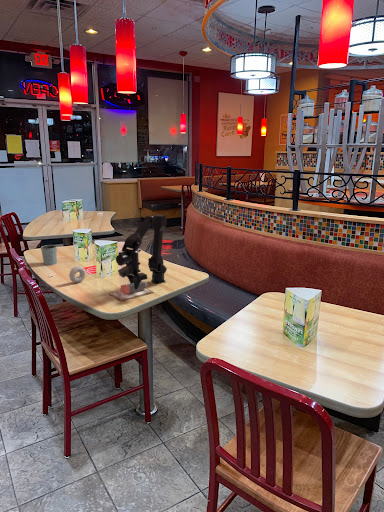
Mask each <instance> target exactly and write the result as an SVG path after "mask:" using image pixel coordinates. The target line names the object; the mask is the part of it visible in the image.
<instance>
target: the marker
mask: <svg viewBox="0 0 384 512" xmlns="http://www.w3.org/2000/svg"><path fill="white" fill-rule="evenodd" d="M146 287H148V282H146V281H144V280H141V282H140V284H139V286H138V289H135V286H134V283H131V284H130V283H127V284H121V285H120V291H121V292H122V293H123V294H127V293H131V292H135V291H138V290H142V289H145V288H146Z"/></svg>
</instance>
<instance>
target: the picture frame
mask: <svg viewBox="0 0 384 512" xmlns="http://www.w3.org/2000/svg"><path fill="white" fill-rule="evenodd" d="M154 293H155V292H154V291H152V290H150V289H148V288H147V287H145V289H142V290H138V291H135V292H131V293H127V294H123V293H122V292H121V290H119V291H114V292H110V293H109V295H110V296H112V297H114V298H115V299H116V300H117V301H119V302H124V301H129V300H132V299H135V298H139V297H144V296H146V295H151V294H154Z"/></svg>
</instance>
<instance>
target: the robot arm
mask: <svg viewBox="0 0 384 512" xmlns="http://www.w3.org/2000/svg"><path fill="white" fill-rule="evenodd" d="M167 218H168V217H166V216H165V215H161V214H154V215H145V217H144V219H143V221H142V222H141V224H140V225H139V226H138V227H137V228H136V230H135V231H134V232H133V233H131V234H130V235H129V236H128V237H126V238H125V240H124V244H123V246H122V248H121V251H120V252H118V255H116V257H115V262H116V264H117V265H118V266H121V268H119V269H118V270H117V272H118V275H119V276H120V277H121V278H127V279H128V281H129V284H131V283H134V286H135V289H138V286H139V284H140V282H141V281H146V280H148V275H147V274H146V273H144V272H142V271H141V270H142V269H140V266H141V262H140V259H139V253H140V252H141V251H142V250H141V249H140V247H141V245H142V242H143V238H144V237H145V235H147V233H148V231H149V229H150V228H151V226H152V229H153V242H152V255H151V257H148V262H147V266H148V268H149V272H151V273H152V274H151V280H150V281H151V282H152V283H154V284H156V285H158V284H163V283H165V282H167V281H166V280H165V273H167V267H166V265H165V264H164V259H163V257H162V246H163V235H164V233H163V232H164V230H165V229H166V228H167V223H168V219H167ZM122 266H123V267H122Z"/></svg>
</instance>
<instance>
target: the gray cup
mask: <svg viewBox="0 0 384 512" xmlns="http://www.w3.org/2000/svg"><path fill="white" fill-rule="evenodd" d="M57 248H58V247H57V245H55V244H46V245H41V247H40V250H41V255H42V261H43V265H44V266H54V264H55V265H57V264H58V254H57V253H58V252H57V251H58V250H57Z"/></svg>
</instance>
